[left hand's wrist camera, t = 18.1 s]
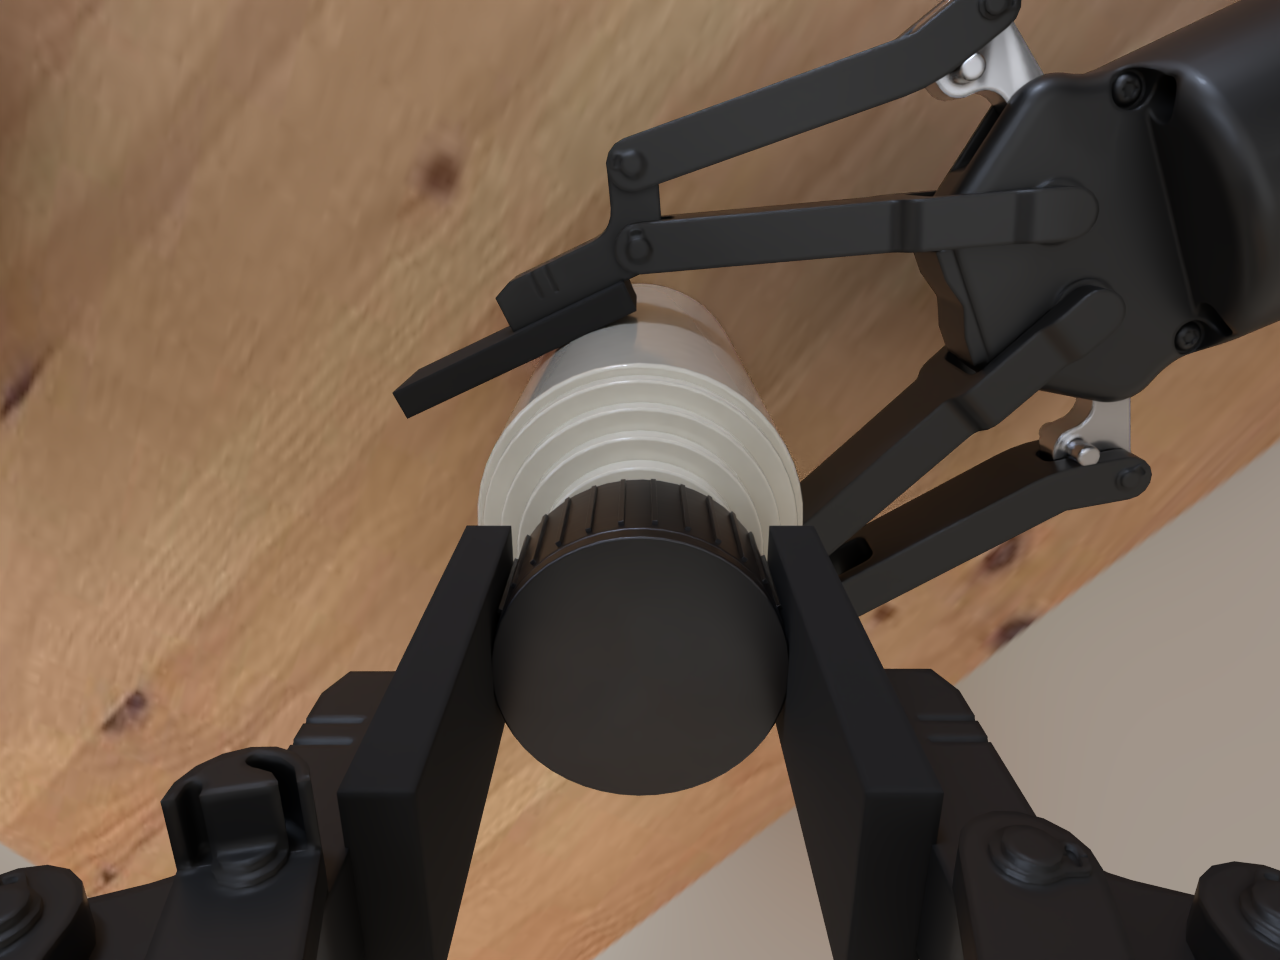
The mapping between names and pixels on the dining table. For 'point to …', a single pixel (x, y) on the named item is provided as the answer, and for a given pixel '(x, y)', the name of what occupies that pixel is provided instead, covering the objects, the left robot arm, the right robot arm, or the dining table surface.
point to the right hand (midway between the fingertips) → (481, 510)
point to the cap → (640, 640)
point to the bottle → (642, 423)
